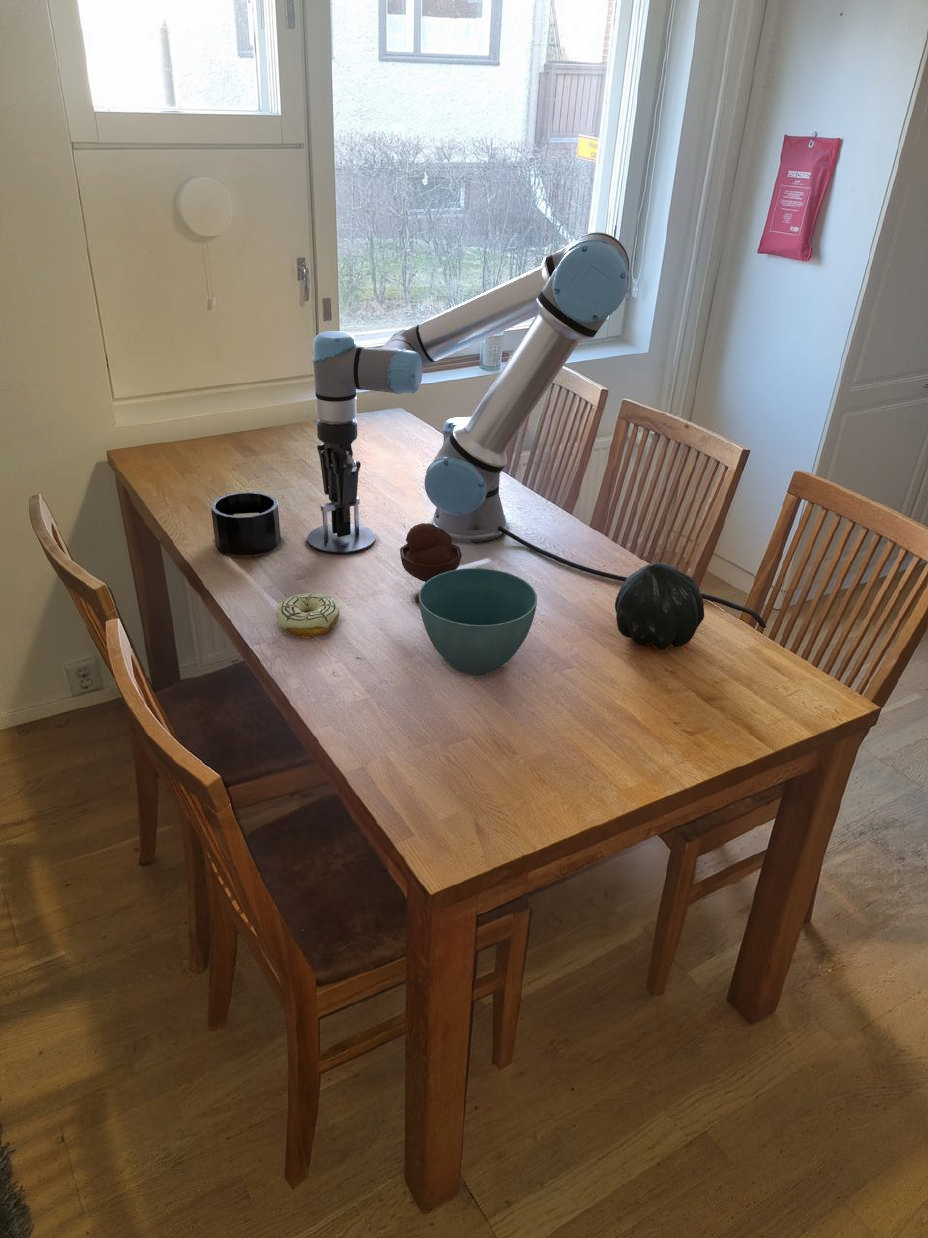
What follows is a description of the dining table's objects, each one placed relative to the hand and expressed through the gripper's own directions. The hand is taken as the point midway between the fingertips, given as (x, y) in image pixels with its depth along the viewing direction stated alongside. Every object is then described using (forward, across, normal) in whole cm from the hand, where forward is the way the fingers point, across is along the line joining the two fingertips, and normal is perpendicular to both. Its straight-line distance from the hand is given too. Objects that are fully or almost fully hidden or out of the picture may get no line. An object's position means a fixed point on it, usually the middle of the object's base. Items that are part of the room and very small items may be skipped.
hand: (341, 533), depth 180 cm
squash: (+2, -60, -27) cm, 66 cm away
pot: (+2, +9, +16) cm, 19 cm away
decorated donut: (+2, -25, +20) cm, 32 cm away
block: (+2, +9, +16) cm, 19 cm away
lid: (+1, 0, 0) cm, 1 cm away
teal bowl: (+2, -50, +3) cm, 50 cm away
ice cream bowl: (+2, -29, -2) cm, 29 cm away
